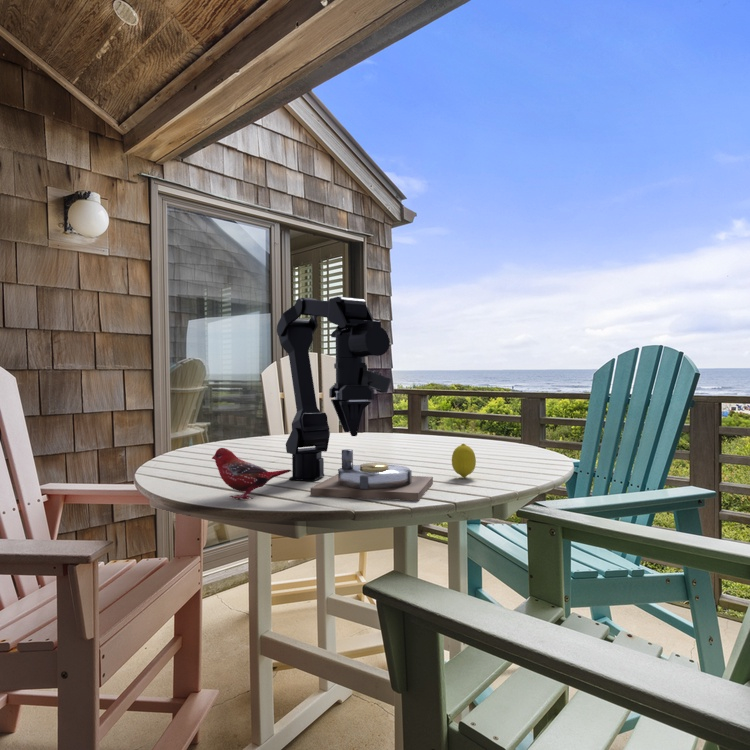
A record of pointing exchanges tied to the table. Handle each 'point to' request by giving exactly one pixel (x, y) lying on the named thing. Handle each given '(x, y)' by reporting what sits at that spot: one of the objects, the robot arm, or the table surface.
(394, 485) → the notched round platform
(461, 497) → the table surface
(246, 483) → the decorative bird figurine
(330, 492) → the base plate
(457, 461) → the lemon
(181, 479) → the table surface
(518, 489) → the table surface
